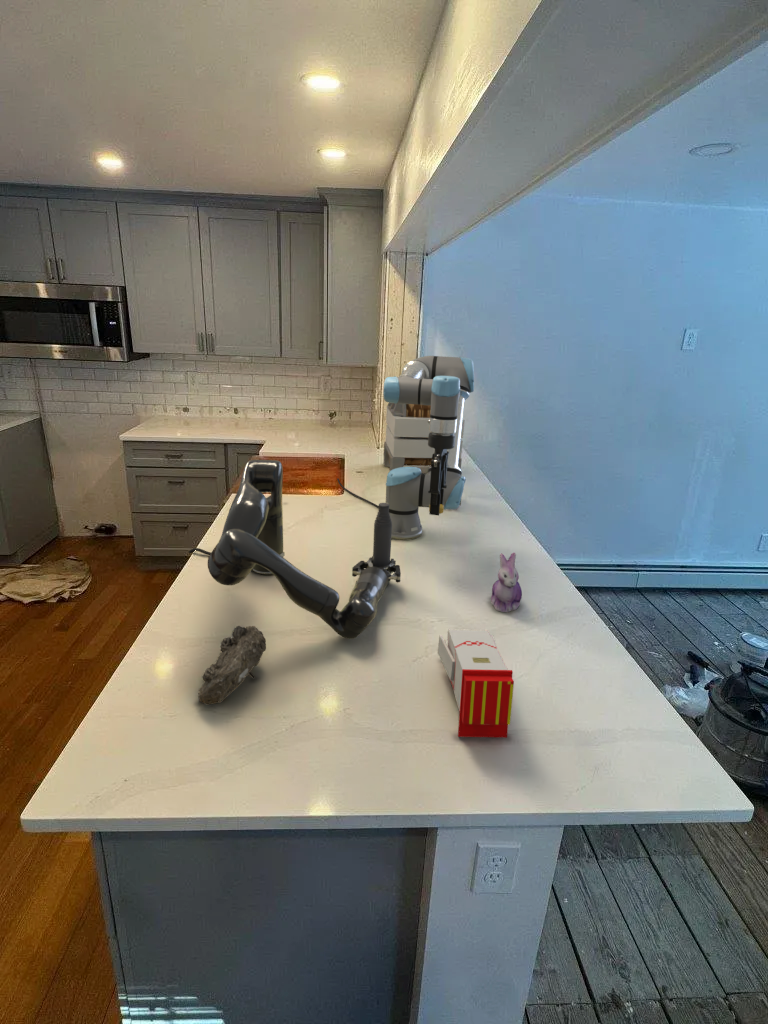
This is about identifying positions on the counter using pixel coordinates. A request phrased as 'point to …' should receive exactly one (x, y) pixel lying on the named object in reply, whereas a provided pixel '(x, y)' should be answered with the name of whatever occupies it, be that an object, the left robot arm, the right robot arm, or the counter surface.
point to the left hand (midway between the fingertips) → (383, 560)
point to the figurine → (506, 586)
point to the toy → (478, 682)
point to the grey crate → (409, 436)
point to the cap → (440, 509)
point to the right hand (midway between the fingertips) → (435, 511)
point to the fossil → (232, 664)
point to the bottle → (382, 537)
